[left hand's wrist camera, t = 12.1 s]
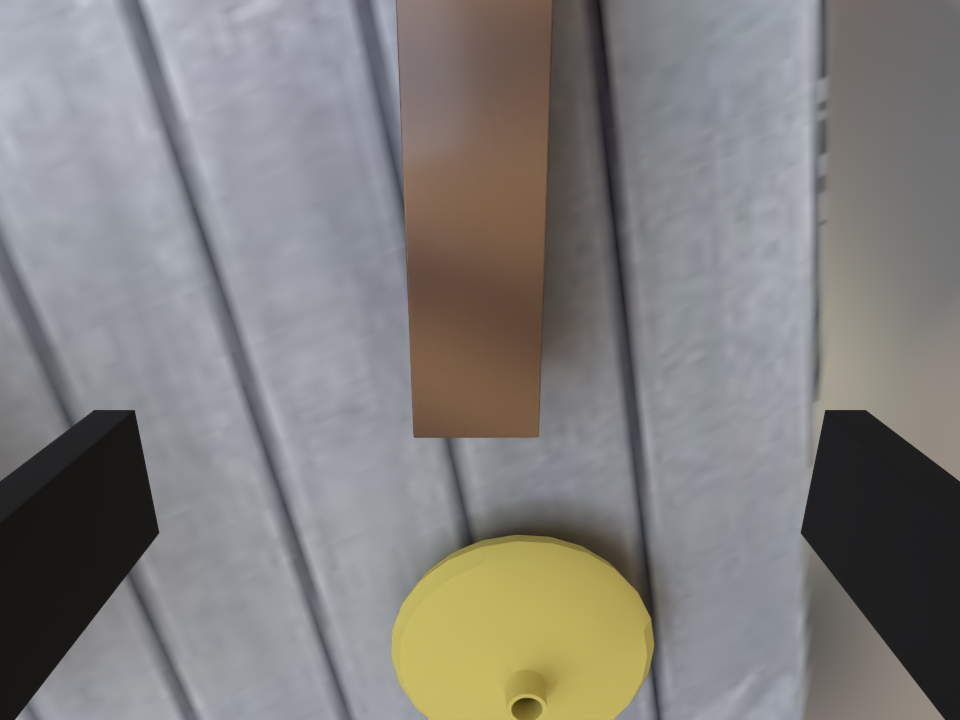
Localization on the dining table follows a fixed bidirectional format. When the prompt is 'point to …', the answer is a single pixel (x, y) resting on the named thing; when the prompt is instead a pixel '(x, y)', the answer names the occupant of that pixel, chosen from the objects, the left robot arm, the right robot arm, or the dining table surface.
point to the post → (475, 210)
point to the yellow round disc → (522, 634)
